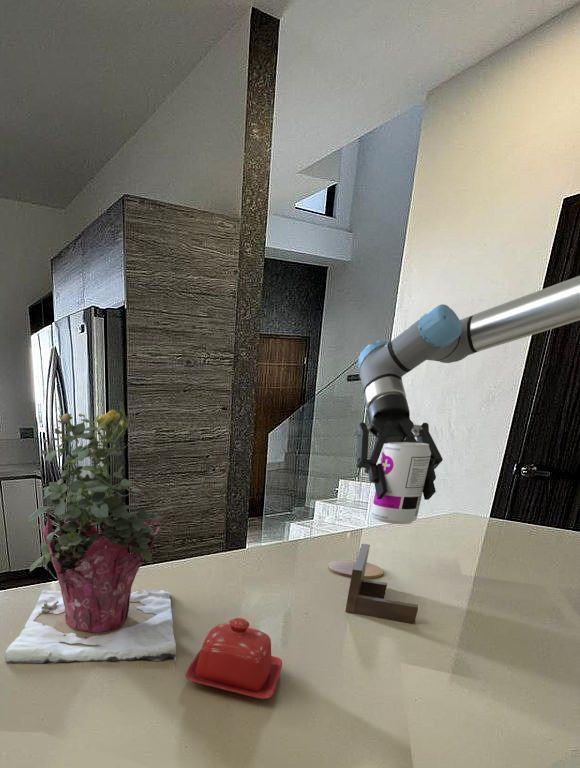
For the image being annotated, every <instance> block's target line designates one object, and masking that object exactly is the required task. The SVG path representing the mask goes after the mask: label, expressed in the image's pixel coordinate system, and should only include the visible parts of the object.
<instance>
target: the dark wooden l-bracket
mask: <svg viewBox="0 0 580 768" xmlns="http://www.w3.org/2000/svg"><path fill="white" fill-rule="evenodd" d="M370 548H371V544H368V543H361V546H360V548H359V551H358V553H357V556H356V559H355V564H354V567H353V570H352V576H351V577H350V582H349V587H348V592H347V593H348V594H347V599H346V605H345V611H344V612H345V613H348V614H349V613H351V614H358V615H363V616H370V617H374V618H375V617H376V618H379V619H385V620H391V621H395V622H402V623H407V624H412V625H414V624H415V623H416V619H417V615H418V610H419V604H417V603H410V602H404V601H398V600H394V599H393V600H392V599H388V598H387V599H386V598H385V596H386V593H387V587H388V582H385V581H378V580H372V579H364V575H365V569H366V564H367V563H368V559H369V552H370Z"/></svg>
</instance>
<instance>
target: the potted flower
mask: <svg viewBox="0 0 580 768" xmlns="http://www.w3.org/2000/svg"><path fill="white" fill-rule="evenodd" d="M118 405H119V407H120V408H119V410H118V412H117V410H115V409H110V410H109V411H108V412H106V413H104V414H101V416H99V415H98V414H97V415H96V417H95V418H94V420H93V422H91V420H90V419H88V418H87V417H86V416H85V414H83V413H78V417H79V418H81V419H80V421H82V422H81V423H77V424H75V425H74V424H72V422H71V420H73V416H72V415H73V413H65V414H63V415H62V416H61V414H62V413H61V409H60V408H59V407H57V409H58V411H59V415H58V418H59V420H58V421H57V423H59V424H61V426H57V427H55V426H56V423H55V424H54V425H52V428H54V429H53V430H54V433H55V435H58V437H59V438H58V437H53V438H50V440H51V441H50V442H49V444H48V446H47V447H48V450H49V452H48V451H46V449H42V450H41V449H40V452H41V453H40V456H41V458H42V457H44V455H45V454H46V456H45V458H44V459H45V461H49V462H51V463H52V462H53V460H54V459H55V457H56V456H57V453H60V454H59V455H58V457H59V458H61V457H62V456H63V453H65V452H66V453H67V455H66V457H65V462H64V463H63V466H62V465H61V466H59V467H58V468H59V470H58V472H60V473H61V478H60V479H58V481H49V482H48V486H45V487H44V488H42V491H44V492H43V493H44V494H43V495H44V497H43V498H42V500H45V499H46V498H48V497H49V500H50V503H52V504H53V506H49V505H46V506H45V505H44V506H40V507H38V508H37V509H36V510H35V511H34V512H32V513H31V515H29V516H28V524H30V523H31V522H33V521H34V520H36V519H37V518H39V516H42V515H43V514H44V513H45V512H46V513H47V515H46V516H47V522H46V525H45V526H44V528H43V529H42V534H43V537H44V540H45V543H44V542H41V543H40V551H41V553H42V556H40V557H39V558H38V559H36V560H35V561H34V562H33V563H32V564H31V565H30V568H29V572H32V571H33V570H35V569H36V568H37V567H38V565H39V564H41V563H43V564H44V565H47V564H48V563H49V562H50V561H51V563H52V566H53V568H54V570H55V573H56V577H57V581H58V584H59V586H60V590H51V589H50V590H49V589H42V590H41V593H40V595H39V597H38V599H37V601H36V603H35V606H34V609H33V610H32V611H31V614H30V616H29V618H28V619H27V621H26V622H25V625H24V626H23V628H24V629H22V630H21V631H20V633H19V635H18V636H17V637H15V638H14V640H13V642H11V643H10V644H9V646H8V647H7V648H6V650H5V652H4V663H6V664H7V663H8V664H45V663H47V662H52V663H53V664H56V663H60V662H61V663H73V662H79V663H81V662H82V661H83V662H85V661H90V662H93V661H95V662H102V661H106V662H108V661H109V662H110V661H112V662H114V661H117V662H118V661H119V660H123V661H134V660H135V661H136V660H146V661H149V662H163V661H165V660H167V659H168V658H170V659H171V658H172V659H173V660H174V663H175V664H177V657H176V654H177V653H176V652H177V651H176V650H177V647H176V646H177V643H176V639H175V635H174V624H173V623H174V618H173V614H172V603H171V602H172V601H171V592H170V589H169V590H168V589H162V590H160V589H153V588H149V589H144V590H137V591H134V592H132V587H133V583H134V581H135V578H136V575H137V573H138V572H139V570H140V568H141V566H142V565H143V563H144V561H146V562H149V563H151V562H152V558H153V554H152V552H151V551H150V550H151V548H152V546H153V544H154V542H155V540H156V539H155V538H156V535H157V534H158V532H159V531H160V530H161V528H162V526H161V525H163V522H161V521H164V518H165V517H166V515H163V512H162V513H161V514H160V513H159V511H157V512H155V513H150V514H148V512H147V511H146V510H145V509H143V508H140V509H138V511H137V513H136V512H129V509H130V510H135V508H134V506H131V505H129V504H126V503H125V502H124V501H122V498H125V497H129V496H130V495H131V494H145V495H148V496H150V497H152V498H155V496H154V495H152V494H151V493H149V491H146V490H145V491H141V489H140V488H135V487H133V482H132V481H130V480H129V479H127V478H125V477H123V473H122V469H123V468H124V465H122V462H121V461H120V460H115V461H112V460H110V456H121V455H123V451H121V449H122V447H121V446H120V444H119V443H120V440H119V438H121V437H124V436H125V435H126V431H127V429H128V428H129V427H130V421H129V419H128V417H127V416H126V412H125V405H124V403H123V401H120V402H119V403H118ZM121 414H122V416H121ZM82 417H83V419H82ZM119 419H120V420H119ZM118 420H119V422H117V421H118ZM85 423H87V424H88V423H89V424H91V425H92V426H88V427H86V425H85ZM94 423H96V424H97V426H96V425H95V424H94ZM60 429H61V430H60ZM111 429H112V430H111ZM65 431H66V432H67V433H65V434H64V432H65ZM93 431H95V432H93ZM101 431H104V432H105V434H102V433H101ZM96 432H97V433H96ZM70 433H71V434H72V435H71V434H70ZM116 433H117V437H116V435H115V434H116ZM95 434H96V435H99V438H98V437H97V436H96V437H95ZM131 434H132V435H133V434H134V432H133V431H132V433H131ZM115 437H116V438H115ZM97 438H98V439H99V440H98V439H97ZM113 438H115V439H114V440H113ZM148 438H149V439H150V440H151V441H156V439H155V438H154V437H152V436H149V437H148ZM60 439H61V440H60ZM79 439H80V442H81V443H80V442H79ZM59 440H60V442H61V444H56V445H55V447H57V448H58V449H57V450H53V448H54V445H53V442H55V441H59ZM83 440H88V441H89V443H88V444H85V445H84V442H83ZM104 440H105V441H104ZM48 441H49V440H48V439H43V440H42V442H43V443H44V444H45V443H47V442H48ZM73 441H76V443H77V444H80V445H79V446H77V447H75V448H74V449H73V450H72V448H73V447H74V444H71V446H70V449H69V446H68V445H67V443H68V442H69V443H73ZM100 443H101V444H100ZM108 444H113V445H112V446H111V447H108ZM122 444H123V445H124V446H123V449H125V448H126V447H127V446H129V445H131V442H129V443H128V444H127V445H126V443H124V442H122ZM63 445H64V447H63ZM125 445H126V446H125ZM69 451H70V452H69ZM71 452H72V453H71ZM69 457H70V458H69ZM86 458H89V459H90V460H91V461H92V462H94V463H93V465H84V466H83V465H80V466H77V465H76V464H77V460H78V461H79V462H83V461H84V460H85V459H86ZM100 463H101V464H102V465H100ZM112 464H115V465H121V466H120V467H119V469H118V471H113V473H112V475H110V474H109V472H110V471H109V469H110V466H111V465H112ZM69 466H70V469H68V468H69ZM64 467H65V469H64V470H63V469H62V468H64ZM83 471H89V472H91V473H92V474H93V476H94V477H91V475H89V473H87V474H85V475H84V476H82V475H81V474H82V473H83ZM67 475H68V477H67ZM69 477H70V478H71V479H72V480H71V479H70V478H69ZM138 477H139V478H141V477H142V475H139V474H138V475H133V476H132V478H134V479H135V478H138ZM112 478H118V479H121V482H119V483H117V484H112V482H114V481H115V480H114V479H112ZM75 479H76V480H75ZM64 481H67V483H64ZM136 484H140V481H137V482H136ZM131 487H133V488H131ZM129 488H131V489H129ZM68 489H69V490H70V492H69V493H68V494H65V493H66V492H67V491H68ZM115 490H119V491H121V490H127V491H128V492H129V493H128V494H121V493H120V492H116V494H115V493H114V492H115ZM89 492H90V493H89ZM113 493H114V494H113ZM65 500H67V503H66V502H65ZM69 507H71V509H70V510H67V511H66V508H67V509H69ZM51 509H53V510H54V519H51V517H50V513H49V512H50V510H51ZM109 513H110V514H109ZM161 515H163V516H161ZM152 516H153V518H151V517H152ZM59 517H60V518H59ZM62 520H67V521H69V522H68V523H67V522H65V521H64V522H63V521H62ZM55 523H57V525H58V526H57V527H56V528H55V529H53V524H55ZM150 523H151V524H150ZM43 524H44V522H42V523H39V524H37V525H35V526H31V528H30V530H37V531H39V530H41V525H43ZM154 524H156V525H159V526H157V527H156V529H154V528H152V527H153V526H154ZM97 525H99V528H100V532H99V531H98V530H97V528H96V526H97ZM77 530H78V531H77ZM154 531H155V532H154ZM152 532H153V533H152ZM55 535H57V537H56V538H54V536H55ZM130 546H131V547H133V548H130ZM129 549H130V552H129V551H128V550H129ZM130 603H140V604H142V605H138V606H135V610H140V611H142V612H143V613H144V614H153V615H154V616H152V617H150V618H149V619H147V620H145V621H142V622H140V623H137V624H134V625H131V626H128V627H123V628H121V629H119V630H115V629H117V627H122V626H123V625H124V623H125V621H127V619H128V616H129V611H130ZM64 612H65V615H64V616H65V624H67V625H68V626H69V627H70V628H72V629H74V630H77V631H81V632H88V633H94V634H95V633H96V634H98V633H101V632H107V631H108V630H110V631H111V630H112V632H109V633H107V634H102V635H92V636H90V637H88V636H85V637H83V638H82V637H78V636H77V633H74V632H68V633H65V632H61V631H59V630H57V629H56V628H55V627H53V626H51V625H47V624H45V625H44V623H42V622H37V621H35V620H36V619H37V617H39V616H40V614H45V613H47V614H52V613H53V614H54V615H59V614H62V613H64ZM113 630H114V631H113ZM75 644H83V645H85V646H82V645H81V646H80V645H75Z"/></svg>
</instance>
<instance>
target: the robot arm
mask: <svg viewBox="0 0 580 768" xmlns="http://www.w3.org/2000/svg"><path fill="white" fill-rule="evenodd" d="M579 321H580V275H577V276H575V277H572V278H570V279H567V280H564V281H561V282H559V283H555V284H553V285H550V286H548V287H545V288H542V289H539V290H537V291H534V292H532V293H529V294H526V295H523V296H521V297H518V298H515V299H513V300H510V301H507V302H504V303H502V304H498V305H497V306H493V307H490V308H487V309H486V310H483V311H480V312H478V313H477V312H476V313H474V314H473V315H470V316H467V317H464V318H461V319H460V318H459V317H458V315H457V313H456V312H455V311H454V309H452V308H451V307H450V306H449V305H447V304H443V303H442V304H439V305H437V306H435V307H434V308H433V309H431V310H430V311H428V312H426V313H424V314H423V315H422V316H421V317H420V318H419V319H417V321H415V322H413V323H412V324H411V325H410V326H409V327H407V328H406V329H405V330H403V331H402V332H401V333H400V334H399V335H397V336H396V337H394V338H393V339H392V340H391V341H388V340H378V341H376V342H375V343H370V344H368V345H367V346H366V347H364V349H363V350H362V351H361V352H360V354H359V356H358V360H357V364H358V376H359V379H360V382H361V386H362V390H363V391H362V392H363V398H364V403H365V408H366V411H367V412H366V413H367V418H368V424H366V422H363V421H362V422H360V423H359V425H358V427H357V428H356V430H355V435H356V437H357V452H356V468H357V469H362V468H363V469H364V473H366V474H368V479H369V482H370V484H374V489H375V490H376V495H377V499H382V498H383V496H384V495H385V494H386V492H387V487H386V482H385V477H384V472H383V467H382V464H380V463H378V461H379V459H380V456H381V454H382V452H383V449H384V445H385V444H388V443H390V442H412V443H425V444H429V448H430V451H431V456H430V460H429V465H428V470H427V474H426V479H425V483H424V488H423V492H422V496H423V499H424V501H429V500H430V499H431V498H432V497H433V496H434V495H435V494H436V493H437V490H436V487H435V483H434V482H435V481H436V479H437V475H436V472H435V469H437V467H438V466H439V465H440V464H442V462H443V461H444V460H443V459H444V458H443V456H442V454H441V452H440V450H439V448H438V447H437V445H436V442H435V441H434V438H433V437H432V434H431V433H430V426H429V423H427V422H423V423H422V424H421V425H420V424H415V423H414V422H413V420H411V414H410V413H411V412H410V408H409V402H408V400H407V394H406V390H405V387H404V383H403V376H405V375H407V374H408V373H410V372H411V371H413V370H414V369H415V368H417V367H418V366H420V365H422V363H424V362H426V361H432V362H433V361H434V362H439V363H443V364H451V363H456V362H459V361H462V360H464V359H465V358H467V357H468V356H471V355H474V354H476V353H479V352H481V351H485V350H488V349H491V348H494V347H498V346H501V345H504V344H509V343H511V342H514V341H518V340H520V339H524V338H527V337H531V336H534V335H538V334H541V333H543V332H547V331H549V330H550V331H551V330H553V329H557V328H560V327H562V326H565V325H569V324H573V323H575V322H579ZM370 434H372V435H373V436H374V437H375V438H376V441H375V443H374V445H373V446H374V447H373V449H372V451H371V455H370V457H369V458H368V455H369V439H370V438H369V435H370Z"/></svg>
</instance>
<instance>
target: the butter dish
mask: <svg viewBox="0 0 580 768" xmlns="http://www.w3.org/2000/svg"><path fill="white" fill-rule="evenodd" d="M282 666H283V661H282V659H281V658H280V657H278V656H275V655H272V641H271V637H270V636H269V635H268V634H267V633H265V632H264V631H261V630H259V629H256V628H253V627H250V622H249V621H248V620H247V619H245V618H242V617H234V618H231V619H230V620H229V623H220V624H217V625H214V627H213V628H211V630H210V631H209V632H208V633H207V635H206V637H205V639H204V640H203V643H202V647H201V648H200V650H199V651H198V652H197V654H195V657H194V658H193V659H192V661H191V663H190V665H189V666H188V667H187V670H186V671H185V673H184V678H185V679H186V680H187V681H190V682H192V683H195V684H199V685H204V686H207V687H211V688H216V689H221V690H224V691H227V692H228V691H229V692H232V693H235V694H240V695H244V696H247V697H252V698H255V699H262V700H269V699H271V698H272V697H273V696H274V693H275V690H276V688H277V684H278V682H279V678H280V674H281V671H282Z"/></svg>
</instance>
